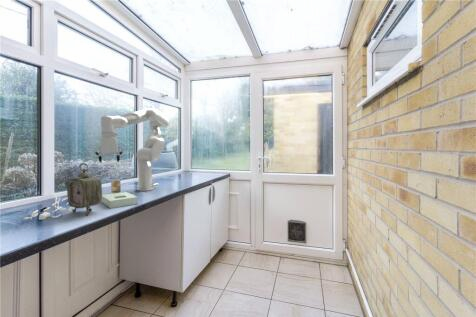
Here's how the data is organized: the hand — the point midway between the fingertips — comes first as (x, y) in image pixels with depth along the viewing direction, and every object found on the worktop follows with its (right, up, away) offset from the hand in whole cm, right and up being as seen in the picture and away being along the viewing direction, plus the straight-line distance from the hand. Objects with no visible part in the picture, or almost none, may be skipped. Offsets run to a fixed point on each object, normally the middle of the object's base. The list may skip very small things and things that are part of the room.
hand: (109, 162), depth 147 cm
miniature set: (-9, -25, -28) cm, 39 cm away
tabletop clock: (+6, -25, -32) cm, 41 cm away
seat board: (+13, -24, -13) cm, 30 cm away
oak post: (+3, -23, +2) cm, 23 cm away
